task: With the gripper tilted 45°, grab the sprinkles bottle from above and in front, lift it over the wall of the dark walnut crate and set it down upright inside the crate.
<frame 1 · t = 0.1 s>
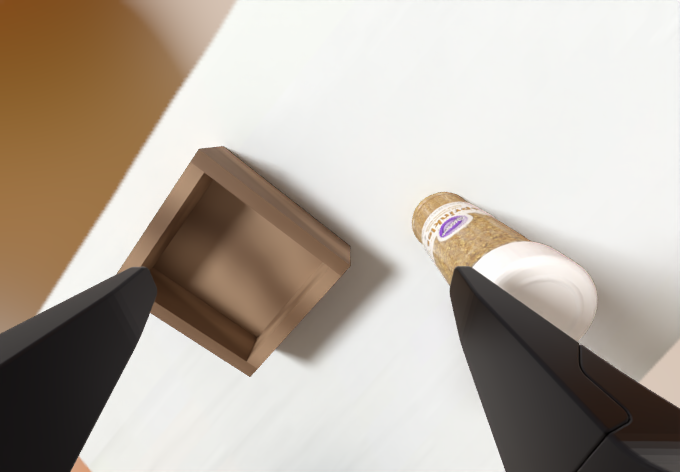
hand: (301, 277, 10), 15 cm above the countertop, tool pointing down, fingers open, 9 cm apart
walnut crate: (244, 255, 26), on the countertop
sprinkles bottle: (439, 220, 25), on the countertop
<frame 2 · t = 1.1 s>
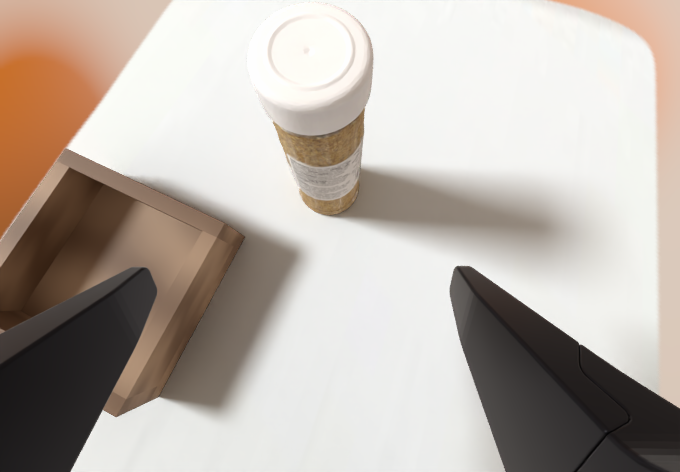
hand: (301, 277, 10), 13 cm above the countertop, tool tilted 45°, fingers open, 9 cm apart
walnut crate: (132, 276, 23), on the countertop
sprinkles bottle: (329, 189, 25), on the countertop
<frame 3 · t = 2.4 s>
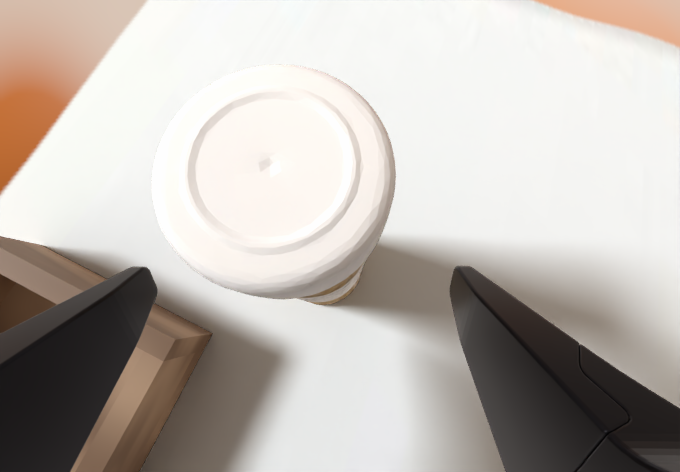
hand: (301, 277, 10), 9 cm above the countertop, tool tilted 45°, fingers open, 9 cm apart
walnut crate: (62, 388, 17), on the countertop
sprinkles bottle: (323, 266, 19), on the countertop
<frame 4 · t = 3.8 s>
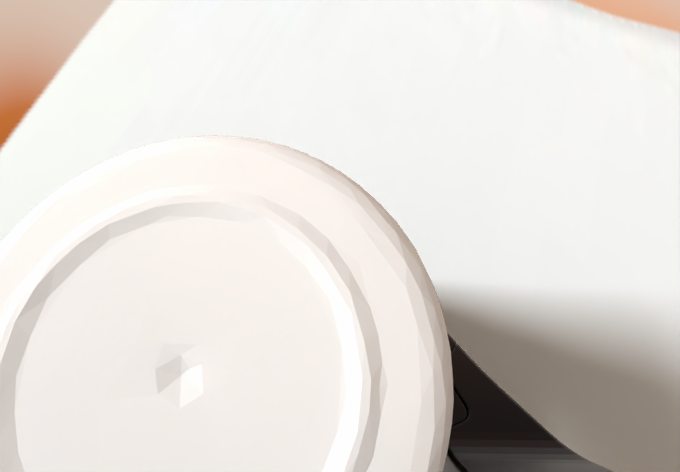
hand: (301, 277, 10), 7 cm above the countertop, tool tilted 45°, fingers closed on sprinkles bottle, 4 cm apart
sprinkles bottle: (319, 319, 16), on the countertop, touching gripper
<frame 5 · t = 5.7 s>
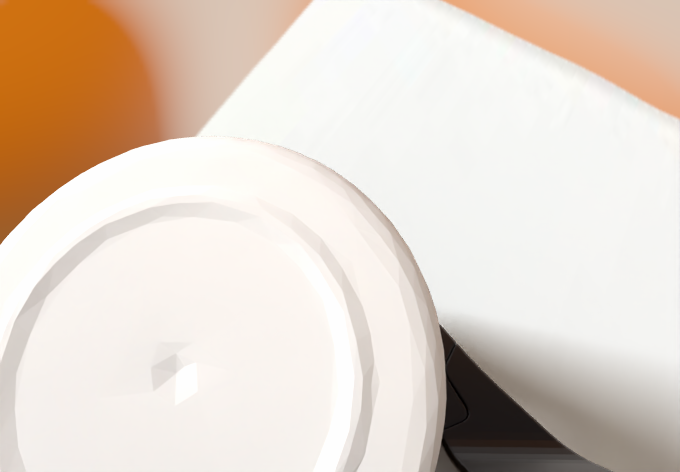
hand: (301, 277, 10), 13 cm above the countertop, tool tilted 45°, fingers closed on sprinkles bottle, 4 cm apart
sprinkles bottle: (323, 317, 16), point 6 cm above the countertop, touching gripper
when the fingers open (9 cm above the countertop, at t = 7.8 s): sprinkles bottle drops 1 cm, resting on walnut crate.
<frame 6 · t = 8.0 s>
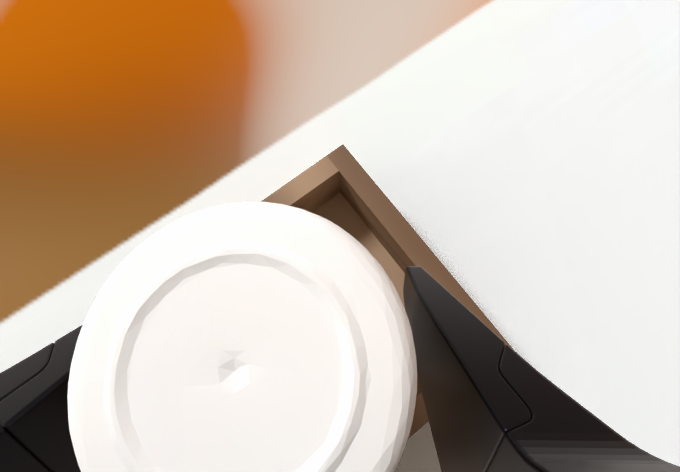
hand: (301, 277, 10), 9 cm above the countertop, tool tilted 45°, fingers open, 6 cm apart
walnut crate: (322, 317, 18), on the countertop
sprinkles bottle: (325, 321, 17), point 1 cm above the countertop, touching walnut crate
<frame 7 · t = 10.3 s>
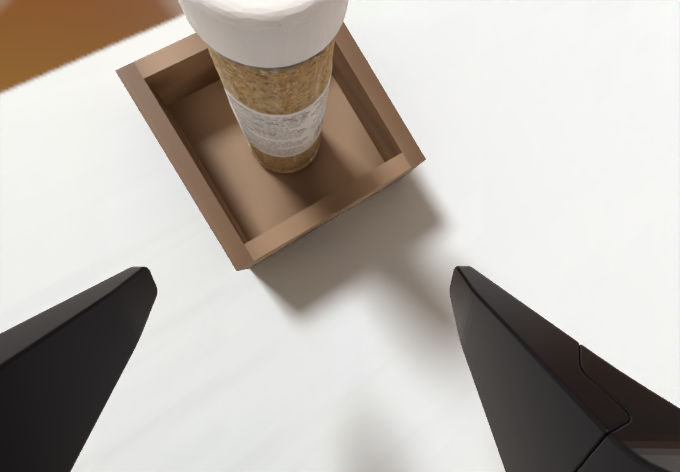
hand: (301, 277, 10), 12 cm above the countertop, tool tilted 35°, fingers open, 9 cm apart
walnut crate: (282, 143, 21), on the countertop
sprinkles bottle: (284, 141, 21), point 1 cm above the countertop, touching walnut crate
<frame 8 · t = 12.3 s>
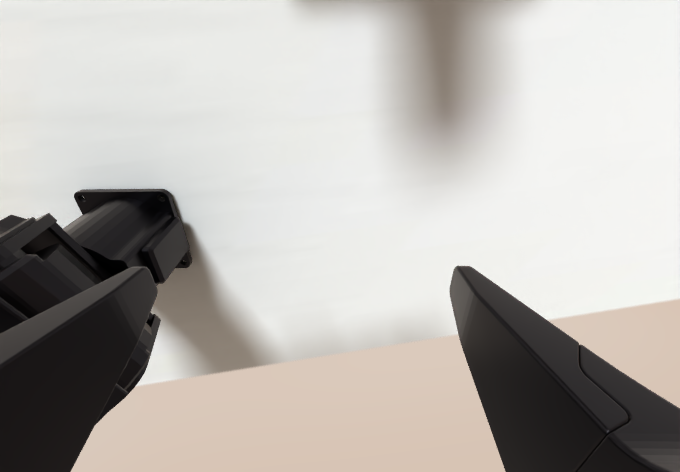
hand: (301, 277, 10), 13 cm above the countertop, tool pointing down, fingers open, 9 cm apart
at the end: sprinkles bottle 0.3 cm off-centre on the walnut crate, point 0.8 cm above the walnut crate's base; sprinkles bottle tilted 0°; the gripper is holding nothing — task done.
